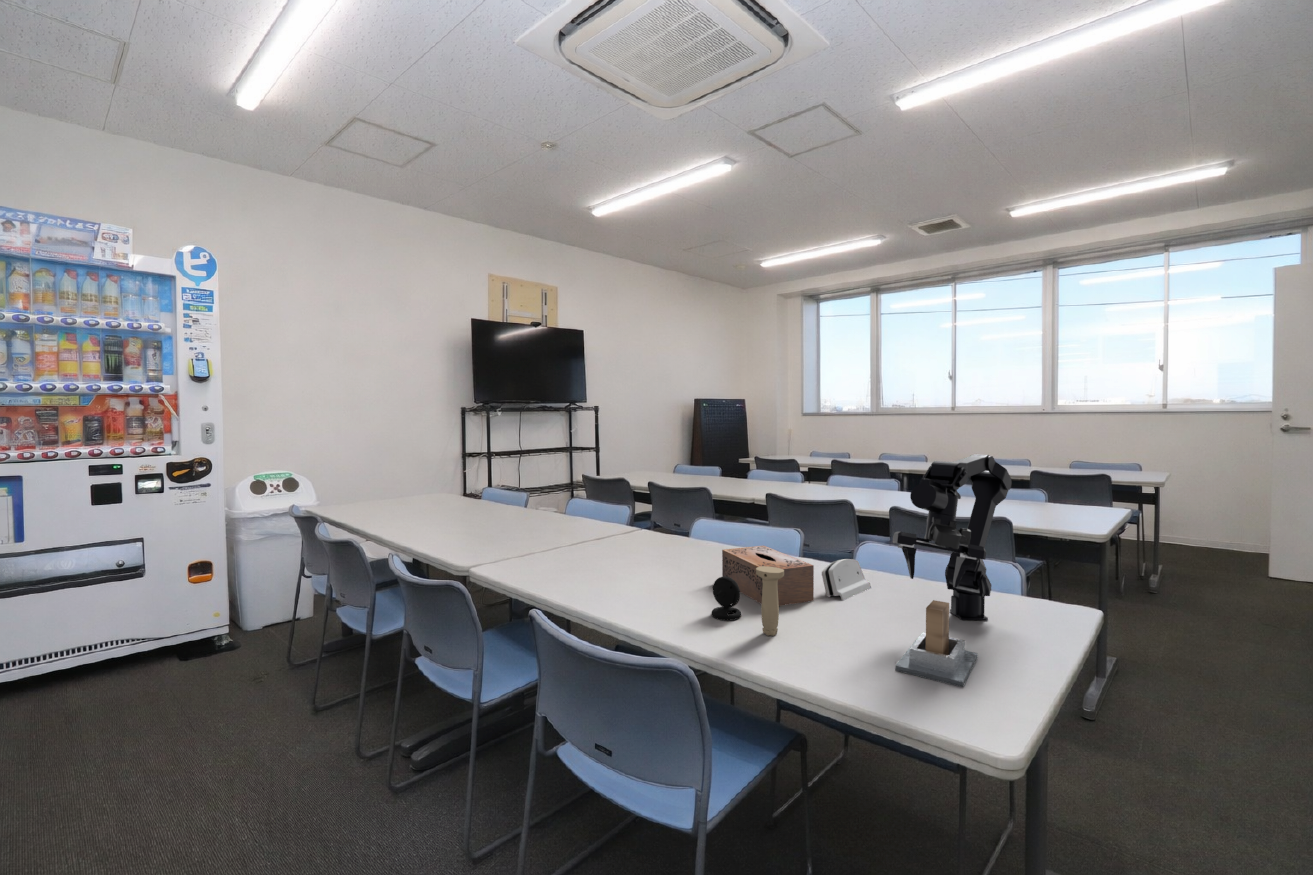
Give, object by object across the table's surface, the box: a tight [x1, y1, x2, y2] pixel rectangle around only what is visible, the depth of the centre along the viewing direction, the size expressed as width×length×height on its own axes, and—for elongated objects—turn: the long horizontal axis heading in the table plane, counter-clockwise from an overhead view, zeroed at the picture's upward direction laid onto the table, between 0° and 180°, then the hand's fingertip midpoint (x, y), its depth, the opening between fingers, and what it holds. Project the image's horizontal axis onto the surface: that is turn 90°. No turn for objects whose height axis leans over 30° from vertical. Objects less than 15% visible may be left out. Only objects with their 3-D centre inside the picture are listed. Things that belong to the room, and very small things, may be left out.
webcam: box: [711, 576, 742, 622], centre depth 147 cm, size 8×8×10 cm
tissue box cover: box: [721, 545, 815, 607], centre depth 167 cm, size 26×14×10 cm, turn 21°
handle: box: [756, 566, 784, 637], centre depth 134 cm, size 5×6×15 cm
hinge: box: [821, 558, 872, 601], centre depth 166 cm, size 17×5×10 cm, turn 133°
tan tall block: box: [925, 599, 950, 655], centre depth 118 cm, size 6×3×11 cm, turn 142°
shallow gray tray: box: [894, 631, 979, 688], centre depth 118 cm, size 16×12×4 cm
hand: (933, 582), depth 133 cm, fingers open, 9 cm apart
